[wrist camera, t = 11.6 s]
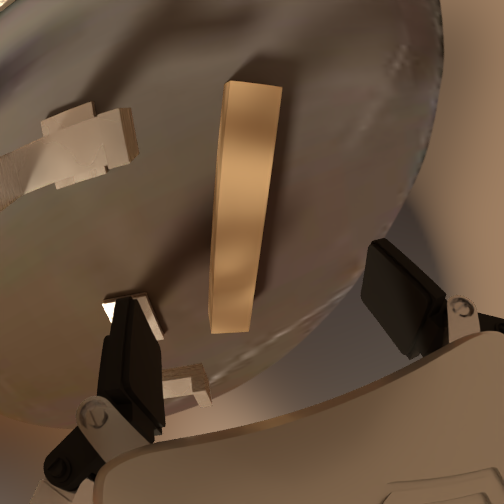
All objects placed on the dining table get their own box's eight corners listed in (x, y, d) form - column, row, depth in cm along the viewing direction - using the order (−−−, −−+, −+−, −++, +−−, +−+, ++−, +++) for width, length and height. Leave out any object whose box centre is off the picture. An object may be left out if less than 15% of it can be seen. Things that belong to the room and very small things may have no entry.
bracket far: (103, 299, 21) (76, 413, 12) (190, 282, 22) (202, 402, 13) (124, 340, 24) (114, 447, 15) (203, 327, 25) (221, 437, 16)
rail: (223, 84, 16) (230, 80, 14) (268, 89, 17) (282, 87, 14) (207, 309, 25) (211, 333, 22) (241, 308, 25) (248, 331, 23)
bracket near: (44, 120, 14) (-66, 154, 4) (148, 85, 15) (97, 60, 5) (59, 186, 16) (-28, 269, 7) (160, 158, 17) (130, 223, 8)
